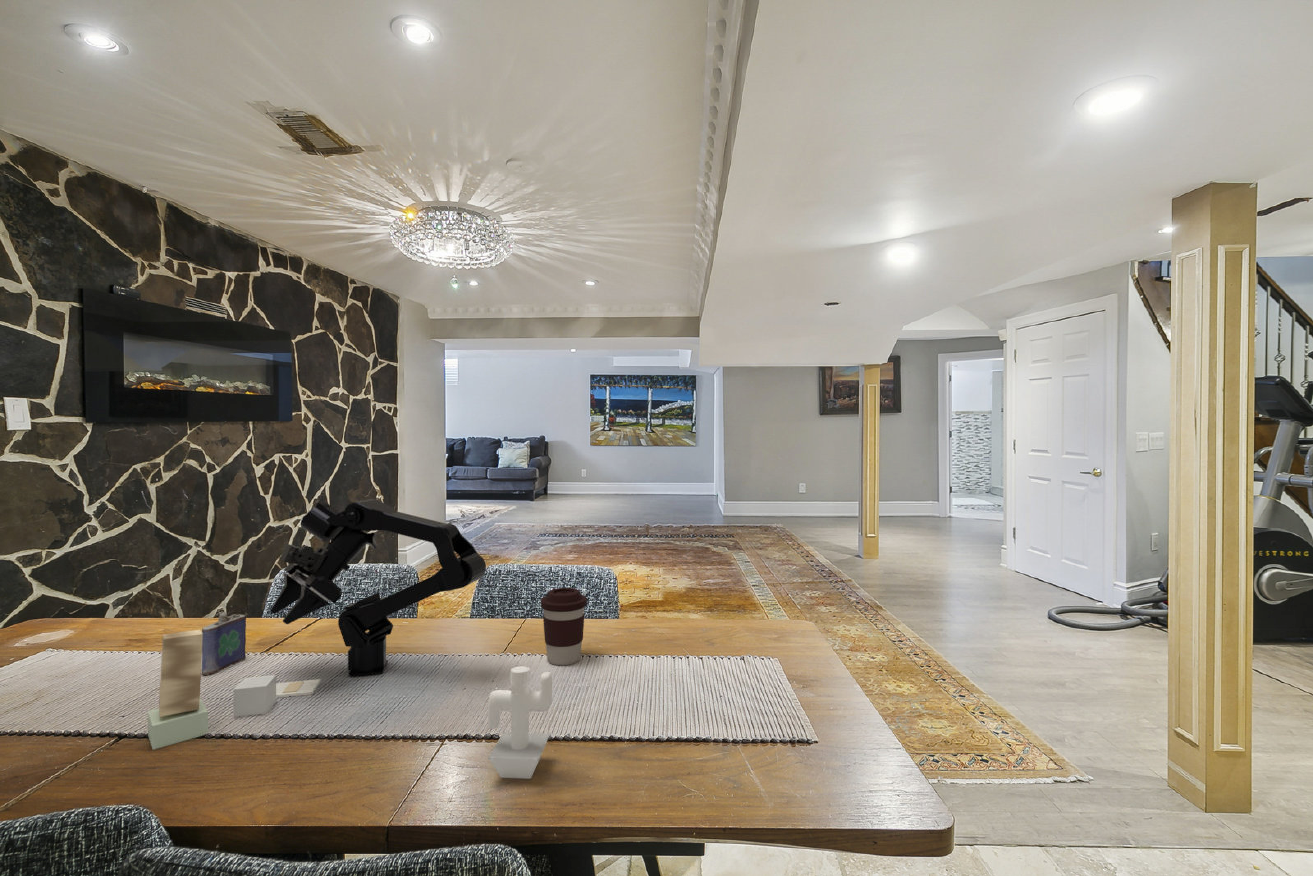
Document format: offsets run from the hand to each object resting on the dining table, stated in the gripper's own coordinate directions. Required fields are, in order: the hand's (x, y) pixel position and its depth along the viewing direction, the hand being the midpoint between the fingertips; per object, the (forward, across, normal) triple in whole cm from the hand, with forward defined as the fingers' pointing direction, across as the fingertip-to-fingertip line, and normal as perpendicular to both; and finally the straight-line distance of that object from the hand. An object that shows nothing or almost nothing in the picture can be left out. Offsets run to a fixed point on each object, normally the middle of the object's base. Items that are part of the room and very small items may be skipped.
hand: (278, 617), depth 116 cm
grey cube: (+14, +8, +6) cm, 17 cm away
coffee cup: (-24, +28, +43) cm, 57 cm away
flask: (+14, -20, +6) cm, 25 cm away
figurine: (-3, +58, +22) cm, 62 cm away
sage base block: (+21, +9, -2) cm, 23 cm away
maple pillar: (+18, +9, -5) cm, 21 cm away
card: (+8, +4, +11) cm, 14 cm away
